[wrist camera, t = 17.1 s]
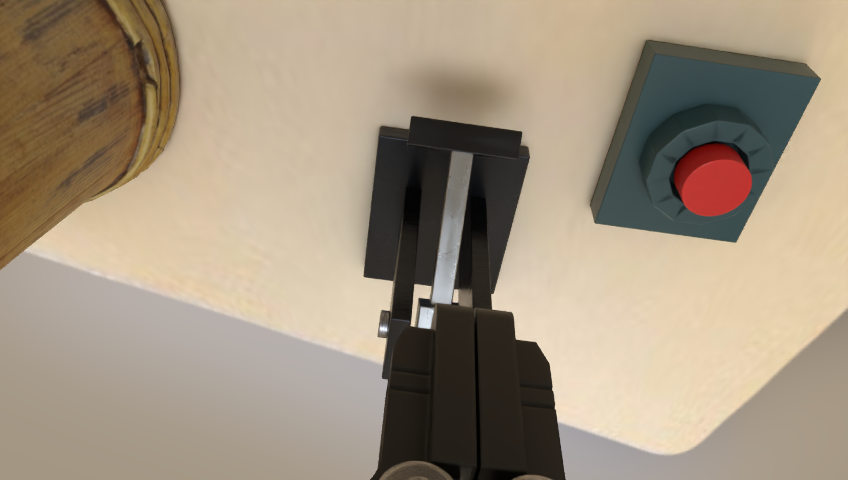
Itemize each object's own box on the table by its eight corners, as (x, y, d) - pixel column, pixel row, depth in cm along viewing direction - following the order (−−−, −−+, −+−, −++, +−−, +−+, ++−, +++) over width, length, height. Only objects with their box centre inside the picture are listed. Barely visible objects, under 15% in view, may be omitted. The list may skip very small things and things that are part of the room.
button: (687, 138, 37) (696, 155, 35) (752, 147, 37) (764, 164, 35) (664, 194, 39) (671, 211, 37) (725, 203, 39) (735, 220, 38)
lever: (410, 118, 36) (411, 114, 34) (516, 133, 36) (524, 130, 34) (380, 344, 37) (378, 356, 35) (482, 357, 37) (488, 370, 35)
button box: (646, 39, 37) (663, 69, 34) (806, 63, 38) (838, 95, 34) (589, 205, 44) (599, 243, 41) (726, 224, 44) (746, 263, 41)
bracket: (380, 125, 41) (353, 259, 31) (528, 146, 41) (550, 285, 31) (365, 266, 48) (339, 415, 37) (493, 283, 48) (501, 434, 38)
